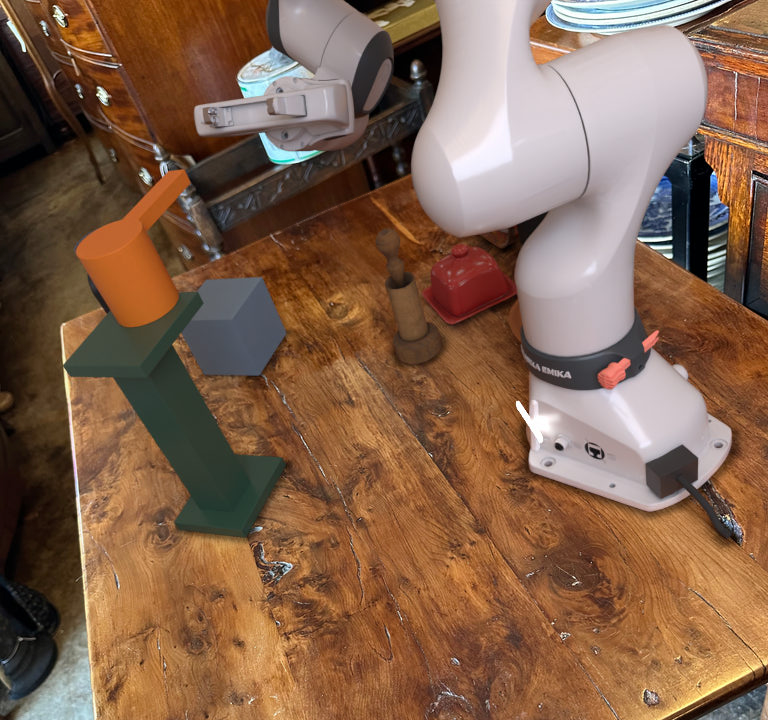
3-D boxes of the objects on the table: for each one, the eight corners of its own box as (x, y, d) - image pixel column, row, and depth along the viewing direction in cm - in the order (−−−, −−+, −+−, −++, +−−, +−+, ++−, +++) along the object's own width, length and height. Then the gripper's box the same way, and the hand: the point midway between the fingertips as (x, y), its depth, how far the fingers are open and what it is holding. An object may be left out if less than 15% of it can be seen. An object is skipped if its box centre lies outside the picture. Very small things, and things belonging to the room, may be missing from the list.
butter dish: (419, 298, 117) (405, 247, 111) (488, 266, 118) (478, 213, 112) (450, 334, 109) (437, 281, 103) (524, 299, 110) (516, 245, 104)
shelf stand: (222, 460, 104) (123, 294, 86) (286, 465, 100) (198, 291, 82) (178, 530, 98) (61, 365, 79) (246, 538, 93) (139, 366, 75)
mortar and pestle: (438, 362, 106) (405, 242, 93) (392, 366, 108) (354, 250, 95) (445, 331, 110) (414, 213, 97) (401, 336, 112) (365, 221, 99)
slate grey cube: (232, 333, 125) (206, 279, 118) (286, 333, 121) (262, 276, 114) (203, 375, 119) (173, 320, 112) (259, 375, 115) (231, 319, 108)
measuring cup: (182, 237, 92) (150, 171, 86) (232, 233, 89) (202, 164, 83) (105, 328, 82) (62, 260, 76) (158, 327, 79) (117, 256, 73)
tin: (462, 223, 128) (452, 174, 122) (479, 215, 129) (469, 165, 123) (510, 257, 118) (501, 205, 112) (528, 248, 118) (520, 195, 112)
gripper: (225, 98, 107) (161, 92, 96) (361, 77, 99) (309, 68, 88) (232, 148, 110) (171, 148, 98) (365, 133, 102) (316, 131, 90)
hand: (237, 110), depth 93 cm, fingers open, 8 cm apart
